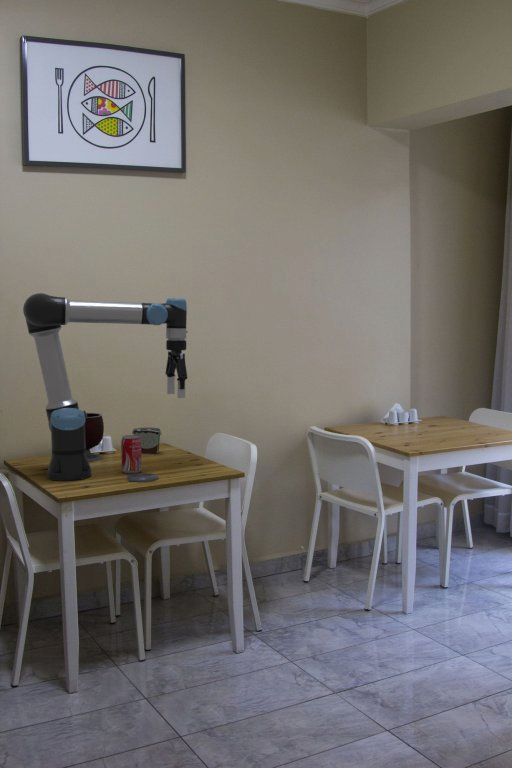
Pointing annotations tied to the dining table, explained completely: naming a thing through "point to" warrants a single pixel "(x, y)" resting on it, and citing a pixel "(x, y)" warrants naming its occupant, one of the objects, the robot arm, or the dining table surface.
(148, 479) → the slate coaster
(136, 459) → the soda can
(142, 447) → the food container
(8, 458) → the dining table surface
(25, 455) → the dining table surface
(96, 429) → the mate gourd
